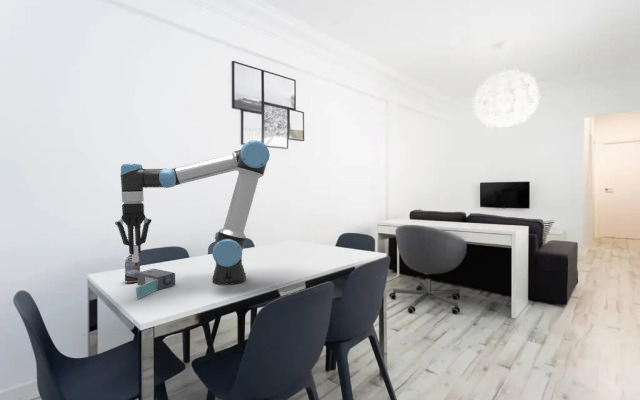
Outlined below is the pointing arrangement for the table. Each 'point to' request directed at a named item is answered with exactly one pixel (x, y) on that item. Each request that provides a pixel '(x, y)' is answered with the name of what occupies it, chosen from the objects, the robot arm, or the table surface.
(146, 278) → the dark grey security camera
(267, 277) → the table surface
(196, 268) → the table surface
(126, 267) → the beverage can
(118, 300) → the table surface
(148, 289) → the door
